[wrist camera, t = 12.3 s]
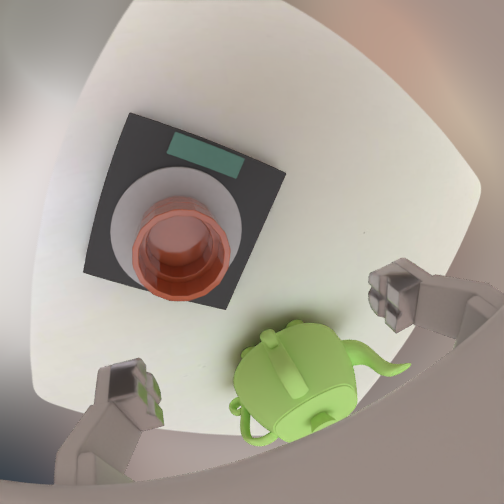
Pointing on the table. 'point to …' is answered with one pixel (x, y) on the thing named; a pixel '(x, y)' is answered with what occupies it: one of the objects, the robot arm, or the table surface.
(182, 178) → the scale
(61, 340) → the table surface
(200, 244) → the orange cup
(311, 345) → the teapot
